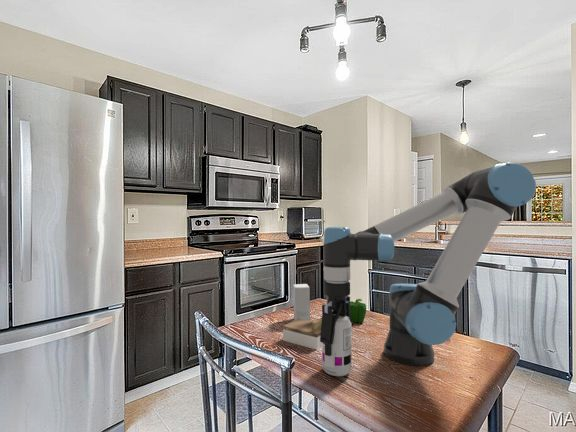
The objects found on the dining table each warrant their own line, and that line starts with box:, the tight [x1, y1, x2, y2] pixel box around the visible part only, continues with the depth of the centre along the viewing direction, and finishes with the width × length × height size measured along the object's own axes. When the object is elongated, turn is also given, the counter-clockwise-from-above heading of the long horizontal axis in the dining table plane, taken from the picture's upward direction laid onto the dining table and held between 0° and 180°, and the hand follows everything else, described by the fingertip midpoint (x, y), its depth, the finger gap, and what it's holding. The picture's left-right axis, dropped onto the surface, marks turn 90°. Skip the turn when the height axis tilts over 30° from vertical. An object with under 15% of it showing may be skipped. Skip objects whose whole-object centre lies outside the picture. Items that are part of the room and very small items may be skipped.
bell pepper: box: [350, 298, 367, 323], centre depth 134 cm, size 8×8×10 cm
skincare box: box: [292, 283, 311, 321], centre depth 134 cm, size 8×7×16 cm
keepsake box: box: [282, 328, 322, 350], centre depth 112 cm, size 14×10×4 cm
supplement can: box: [321, 314, 352, 377], centre depth 89 cm, size 8×8×15 cm
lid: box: [282, 317, 322, 336], centre depth 112 cm, size 14×10×4 cm
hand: (336, 359), depth 89 cm, fingers open, 8 cm apart
